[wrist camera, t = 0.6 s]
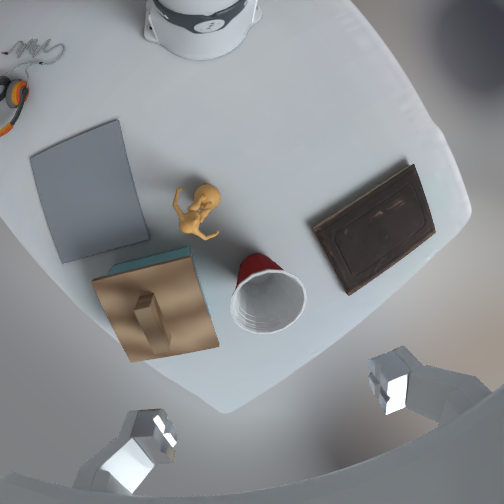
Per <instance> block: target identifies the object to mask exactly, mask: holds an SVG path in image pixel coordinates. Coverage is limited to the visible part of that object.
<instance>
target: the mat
mask: <svg viewBox="0 0 504 504" xmlns="http://www.w3.org/2000/svg"><path fill="white" fill-rule="evenodd" d="M30 160H31V164H32V169H33V173H34V177H35V181H36V185H37V189H38V193H39V196H40V200H41V203H42V207H43V210H44V213H45V216H46V220H47V223H48V226H49V229H50V232H51V235H52V237H53V240H54V243H55V246H56V248H57V251H58V254H59V256H60V259H61V261H62V264H64V263H67V262H70V261H74V260H77V259H80V258H84V257H87V256H91V255H94V254H98V253H101V252H105V251H108V250H112V249H116V248H119V247H123V246H126V245H130V244H134V243H137V242H141V241H145V240H149V239H150V237H149V234H148V231H147V228H146V224H145V221H144V218H143V214H142V211H141V207H140V204H139V200H138V197H137V193H136V190H135V186H134V182H133V178H132V174H131V171H130V167H129V163H128V159H127V154H126V150H125V146H124V142H123V137H122V133H121V128H120V123H119V120H116V121H114V122H111V123H108V124H106V125H103V126H100V127H98V128H95V129H93V130H90V131H88V132H86V133H83V134H81V135H78V136H76V137H74V138H72V139H69V140H67V141H65V142H63V143H61V144H58V145H56V146H54V147H52V148H50V149H48V150H46V151H44V152H42V153H40V154H38V155H36V156H34V157H32V158H30Z"/></svg>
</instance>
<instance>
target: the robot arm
mask: <svg viewBox="0 0 504 504" xmlns="http://www.w3.org/2000/svg"><path fill="white" fill-rule="evenodd" d="M261 17H262V10H261V8H260V7H259V5H258V3H257V0H147V2H146V17H145V28H144V37H145V39H146V40H147V41H149V42H152V43H157V44H161V45H163V46H164V47H166V48H167V49H168V50H169V51H171V52H172V53H174V54H176V55H178V56H180V57H183V58H187V59H193V60H206V59H212V58H216V57H219V56H222V55H224V54H226V53H228V52H230V51H231V50H233V49H234V48H236V47H237V46H238V45H239V44H240V43H241V42H242V40H243V39H244V37H245V36H246V34H247V32H248V30H249V28H250V27H251V26H252V25H254V24H255V23H256V22H258V21H259V20H260V19H261ZM151 27H152V30H150V28H151ZM369 369H370V370H371V373H370V375H369V384H370V388H371V390H372V393H373V394H374V396H375V397H378V398H379V399H380V400H379V404H380V406H381V407H382V409H383V410H384V412H385V414H388V413H391V412H393V411H396V410H398V409H401V408H403V407H406V408H408V409H410V410H412V411H414V412H416V413H418V414H421V415H423V416H425V417H427V418H429V419H431V420H434V421H436V422H438V423H439V425H438V427H437V428H436V429H434V430H432V431H430V432H428V433H426V434H425V435H423V436H421V437H419V438H417V439H415V440H413V441H411V442H408V443H406V444H404V445H402V446H400V447H398V448H396V449H393V450H391V451H389V452H387V453H384V454H382V455H379V456H377V457H374V458H372V459H369V460H367V461H364V462H361V463H359V464H356V465H353V466H350V467H347V468H344V469H341V470H338V471H335V472H332V473H329V474H326V475H322V476H318V477H315V478H311V479H307V480H303V481H299V482H295V483H290V484H286V485H281V486H276V487H271V488H265V489H260V490H253V491H247V492H239V493H231V494H221V495H209V496H193V497H192V496H191V497H153V496H152V497H150V496H134V495H133V494H132V493H133V492H134V490H135V489H136V488H137V486H138V485H139V484H140V483H141V482H142V481H143V479H144V478H145V477H146V476H147V474H148V473H149V472H150V471H151V469H152V468H153V467H154V464H169V463H173V462H174V455H175V450H174V449H173V446H174V445H175V444H176V442H177V433H176V429H175V426H174V425H173V423H172V422H171V421H169V420H168V419H167V414H166V412H165V410H164V409H148V410H134V411H129V412H128V413H127V414H126V417H125V420H124V423H123V426H122V428H121V431H120V434H119V437H118V438H115V439H113V440H112V441H111V442H110V443H109V444H107V445H106V446H105V447H104V448H103V449H102V450H100V451H99V452H98V453H97V454H95V455H94V456H93V457H92V458H90V459H89V460H88V461H87V462H86V463H84V464H83V465H82V466H80V468H79V470H78V473H77V476H76V478H75V481H74V483H73V486H72V487H69V486H64V485H60V484H56V483H51V482H47V481H44V480H40V479H37V478H33V477H30V476H27V475H24V474H21V473H18V472H8V473H6V474H4V475H2V476H0V504H504V384H503V385H501V386H500V387H499V388H497V389H496V390H495V391H493V392H491V391H490V390H489V389H488V388H487V387H486V386H485V385H484V384H483V383H482V382H481V381H480V380H479V379H478V378H476V377H475V376H471V375H467V374H462V373H458V372H453V371H449V370H444V369H441V368H437V367H432V366H428V365H426V366H423V365H422V364H421V363H420V362H419V361H418V360H417V358H415V357H414V355H413V354H412V353H411V352H410V351H409V350H408V349H407V348H406V347H405V346H400V347H398V348H396V349H394V350H392V351H389V352H387V353H384V354H382V355H379V356H377V357H374V358H372V359H369Z"/></svg>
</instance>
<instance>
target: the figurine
mask: <svg viewBox="0 0 504 504" xmlns="http://www.w3.org/2000/svg"><path fill="white" fill-rule="evenodd" d="M181 188H182V187H181ZM181 188H180V187H179V188H177V190H176V194H175V198H174V201H173V207H174V209H175V210H176V212H177V214H178V216H179V219H180V224H179V227H180V230H181V231H182V232H184V233H187V234H188V233H193V234H195V235H197V236H199V237H200V238H202V239H203V240H208V239H209V238H212V237H215V236H217V235H218V233H219V232H220V231H218V230H217V232H216V233H215V234H210V235H207V236H205V235H204V234H203V233H202V232H200V231H199V229H198V228H199V224H200V223H202V222H203V220H204V218H205V217H206V216H207V215H208V214H209V212H210V210H212V209H214V208H216V207H217V205H218V204H219V202H220V193H219V191H218V189H217V188H216V187H215V186H213V185H210V184H204V185H201V186H200V187H198V188H197V190H196V191H195V193H194V202H193V203H192V205H191V206H189V207H188V211H189V213H187V214H184V213H183V212H182V211H181V209H180V208H179V206H178V205H177V200H178V197H179V191H182V190H183V189H182V190H180V189H181ZM199 208H200V209H201V210H202V211H200V213H198V212H197V211H196V210H198V209H199Z"/></svg>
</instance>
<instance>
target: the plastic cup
mask: <svg viewBox="0 0 504 504" xmlns="http://www.w3.org/2000/svg"><path fill="white" fill-rule="evenodd" d="M306 300H307V296H306V290H305V286H304V285H303V284H302V282H301V281H300V280H299V279H298V277H297V276H295V275H293V274H291V273H288V272H286V271H284V270H283V269H282V268H281V267H280V266H279V265H277V264H276V263H275V262H274V261H272V260H271V259H270V258H269V257H267V256H265V255H262V254H253V255H250V256H248V257H247V258H246V259H244V260H243V262H242V264H241V265H240V270H239V272H238V279H237V286H236V289H235V291H234V293H233V294H232V297H231V305H230V312H231V315H232V317H233V320H234V322H235V323H236V324H237V325H239V326H240V327H241V328H242V329H243V330H245V331H248V332H251V333H254V334H272V333H275V332H278V331H282V330H284V329H286V328H287V327H289V326H290V325H291V324H293V323H294V322H296V320H297V319H298V318H299V316H300V315H301V314H302V312H303V311H304V308H305V304H306Z"/></svg>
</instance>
